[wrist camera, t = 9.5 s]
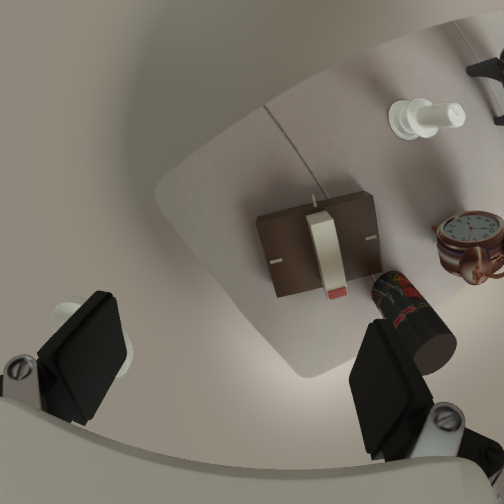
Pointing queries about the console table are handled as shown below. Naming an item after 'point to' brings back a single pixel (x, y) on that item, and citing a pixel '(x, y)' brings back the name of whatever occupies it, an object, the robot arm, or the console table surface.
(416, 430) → the robot arm
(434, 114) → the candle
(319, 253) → the dial
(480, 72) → the planter
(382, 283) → the deodorant
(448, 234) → the alarm clock
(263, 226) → the panel
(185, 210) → the console table surface
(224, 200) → the console table surface
